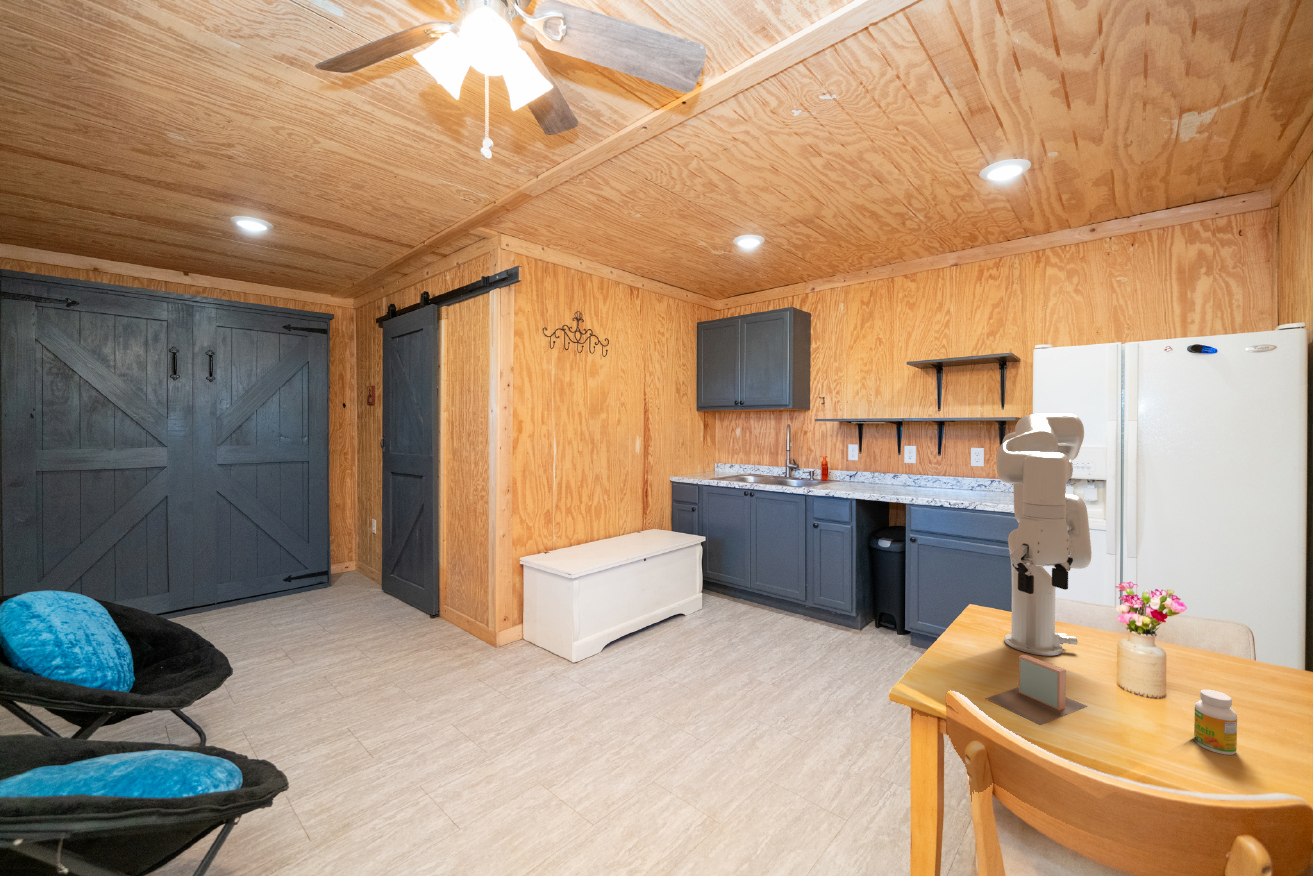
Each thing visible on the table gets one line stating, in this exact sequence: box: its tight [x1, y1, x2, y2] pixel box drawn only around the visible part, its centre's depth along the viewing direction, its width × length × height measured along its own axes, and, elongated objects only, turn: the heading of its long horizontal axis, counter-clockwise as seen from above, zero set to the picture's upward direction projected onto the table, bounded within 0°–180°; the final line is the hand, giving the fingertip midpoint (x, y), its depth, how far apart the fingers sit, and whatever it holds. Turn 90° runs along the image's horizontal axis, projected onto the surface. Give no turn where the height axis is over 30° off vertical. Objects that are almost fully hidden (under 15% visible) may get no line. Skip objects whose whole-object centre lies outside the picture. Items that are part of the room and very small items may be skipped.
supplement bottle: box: [1193, 688, 1238, 756], centre depth 98 cm, size 5×5×10 cm
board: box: [984, 686, 1088, 726], centre depth 111 cm, size 16×11×1 cm
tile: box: [1018, 654, 1067, 710], centre depth 112 cm, size 2×8×8 cm, turn 25°
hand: (1042, 589), depth 116 cm, fingers open, 9 cm apart
